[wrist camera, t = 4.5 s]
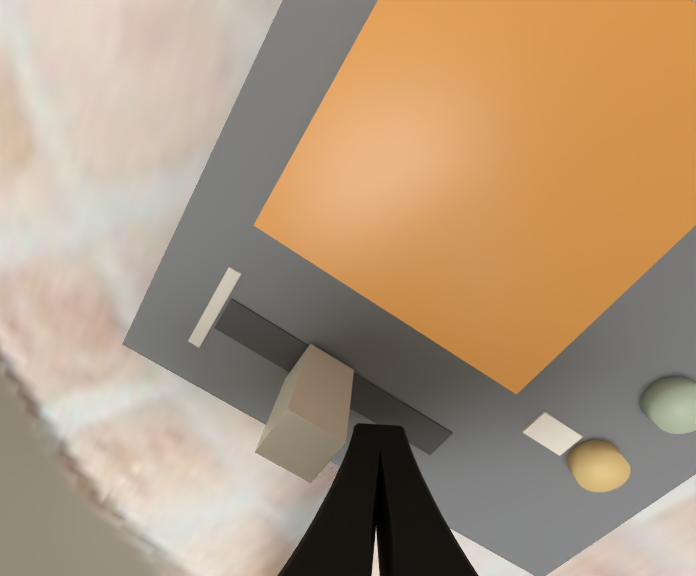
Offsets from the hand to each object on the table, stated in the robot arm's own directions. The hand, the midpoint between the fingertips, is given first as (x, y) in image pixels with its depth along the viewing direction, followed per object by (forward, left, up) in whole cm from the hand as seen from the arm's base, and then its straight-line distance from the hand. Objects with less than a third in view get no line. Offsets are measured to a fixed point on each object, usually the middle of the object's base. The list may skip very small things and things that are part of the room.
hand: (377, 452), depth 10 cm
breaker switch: (+2, 0, -2) cm, 3 cm away
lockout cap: (+3, -7, -2) cm, 8 cm away
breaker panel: (-1, -4, -3) cm, 5 cm away
